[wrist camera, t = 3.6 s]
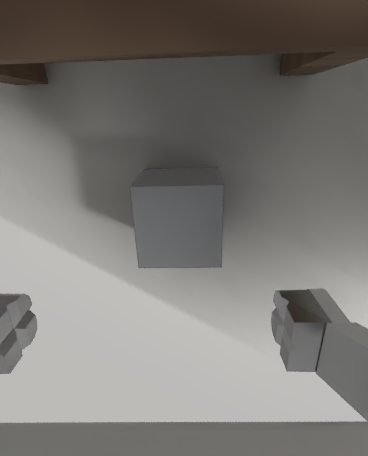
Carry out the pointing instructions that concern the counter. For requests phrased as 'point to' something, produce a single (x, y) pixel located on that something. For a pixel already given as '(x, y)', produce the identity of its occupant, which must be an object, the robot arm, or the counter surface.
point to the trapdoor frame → (179, 32)
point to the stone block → (178, 217)
